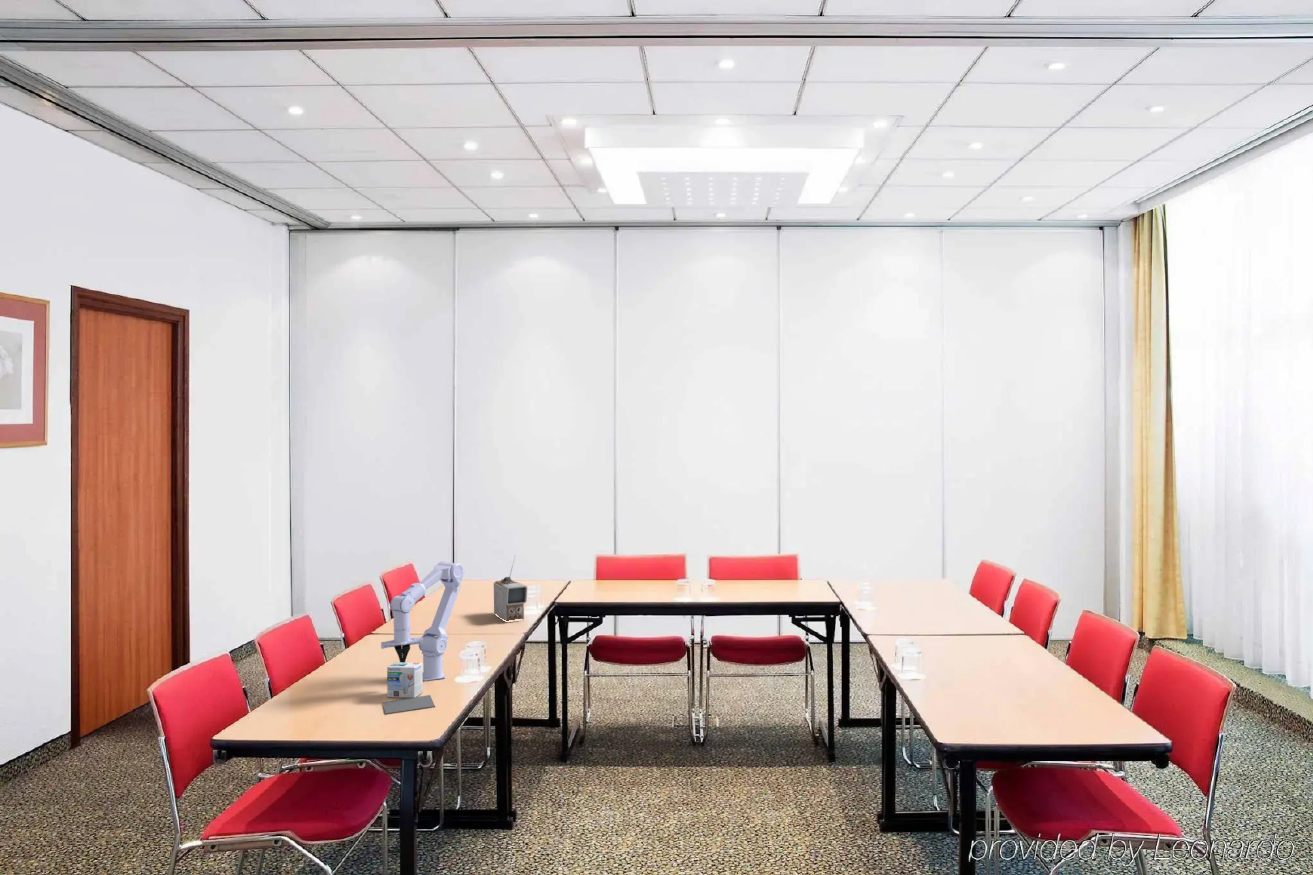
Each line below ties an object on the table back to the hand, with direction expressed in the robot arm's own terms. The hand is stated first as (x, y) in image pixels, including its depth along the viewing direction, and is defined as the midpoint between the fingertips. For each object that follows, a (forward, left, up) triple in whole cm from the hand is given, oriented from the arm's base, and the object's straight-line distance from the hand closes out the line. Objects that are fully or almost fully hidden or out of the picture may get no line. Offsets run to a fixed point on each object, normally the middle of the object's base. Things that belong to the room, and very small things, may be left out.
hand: (402, 665), depth 283 cm
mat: (+19, 0, -8) cm, 21 cm away
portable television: (-87, +61, -9) cm, 106 cm away
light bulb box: (+8, 0, -8) cm, 12 cm away
